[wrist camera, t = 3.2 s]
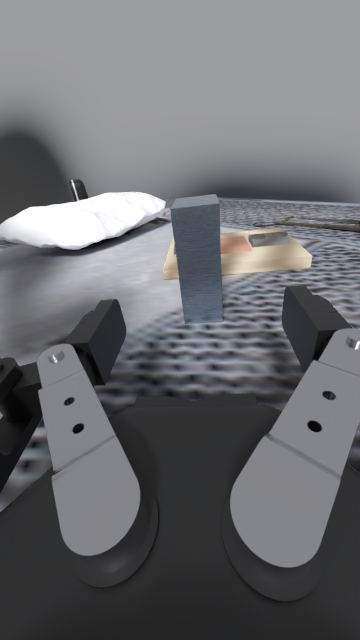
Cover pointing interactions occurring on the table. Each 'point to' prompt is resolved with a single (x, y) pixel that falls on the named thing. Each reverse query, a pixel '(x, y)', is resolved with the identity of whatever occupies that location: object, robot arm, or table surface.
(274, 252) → the tan flat wooden board
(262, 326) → the table surface
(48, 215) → the crumpled cloth
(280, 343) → the table surface
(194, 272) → the link block
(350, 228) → the hacksaw
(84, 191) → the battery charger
